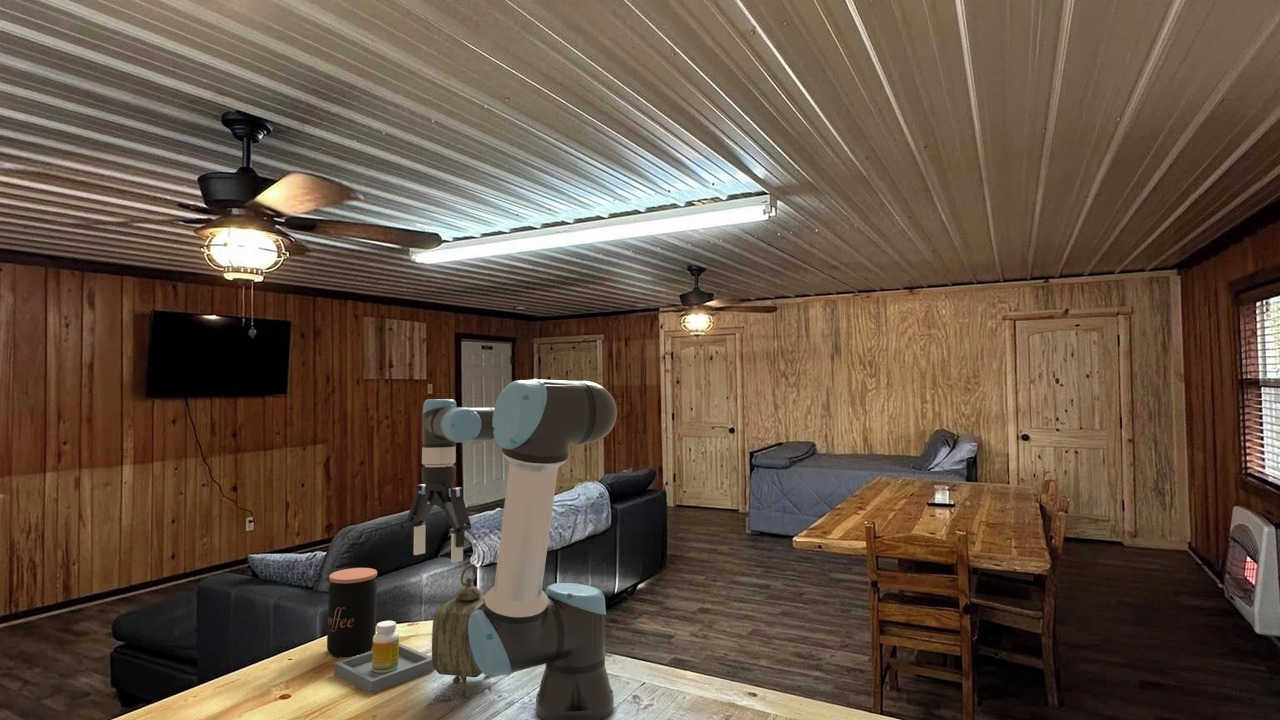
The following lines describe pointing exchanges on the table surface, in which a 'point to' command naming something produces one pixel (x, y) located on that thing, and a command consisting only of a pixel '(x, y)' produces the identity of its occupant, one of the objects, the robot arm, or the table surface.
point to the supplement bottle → (385, 647)
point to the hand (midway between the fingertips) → (437, 557)
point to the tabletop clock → (456, 634)
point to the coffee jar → (351, 612)
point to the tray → (372, 682)
